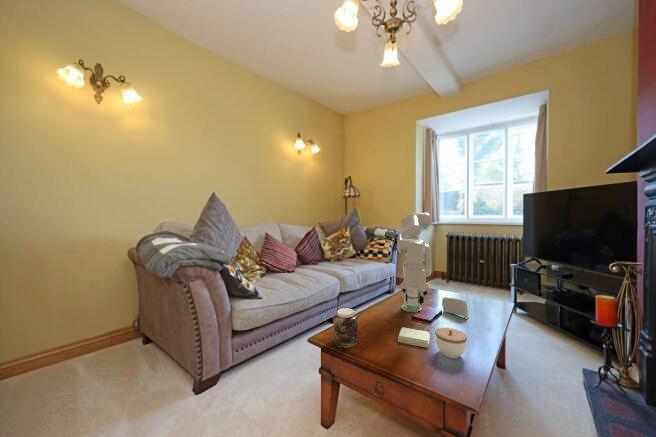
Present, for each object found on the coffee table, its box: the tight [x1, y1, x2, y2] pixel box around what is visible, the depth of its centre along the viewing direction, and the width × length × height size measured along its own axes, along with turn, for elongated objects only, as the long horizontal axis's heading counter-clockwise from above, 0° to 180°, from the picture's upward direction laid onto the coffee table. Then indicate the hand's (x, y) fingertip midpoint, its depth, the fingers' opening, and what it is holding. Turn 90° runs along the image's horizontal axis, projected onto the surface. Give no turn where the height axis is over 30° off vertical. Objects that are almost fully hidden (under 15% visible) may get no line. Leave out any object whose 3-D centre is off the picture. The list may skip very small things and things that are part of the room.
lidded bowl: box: [434, 327, 468, 359], centre depth 115 cm, size 13×13×11 cm
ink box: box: [407, 286, 422, 313], centre depth 128 cm, size 9×5×12 cm, turn 146°
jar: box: [333, 307, 359, 349], centre depth 126 cm, size 12×12×15 cm
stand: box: [397, 326, 431, 349], centre depth 128 cm, size 11×14×3 cm
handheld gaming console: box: [441, 296, 469, 320], centre depth 160 cm, size 11×3×15 cm
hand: (414, 302), depth 128 cm, fingers closed on ink box, 5 cm apart
